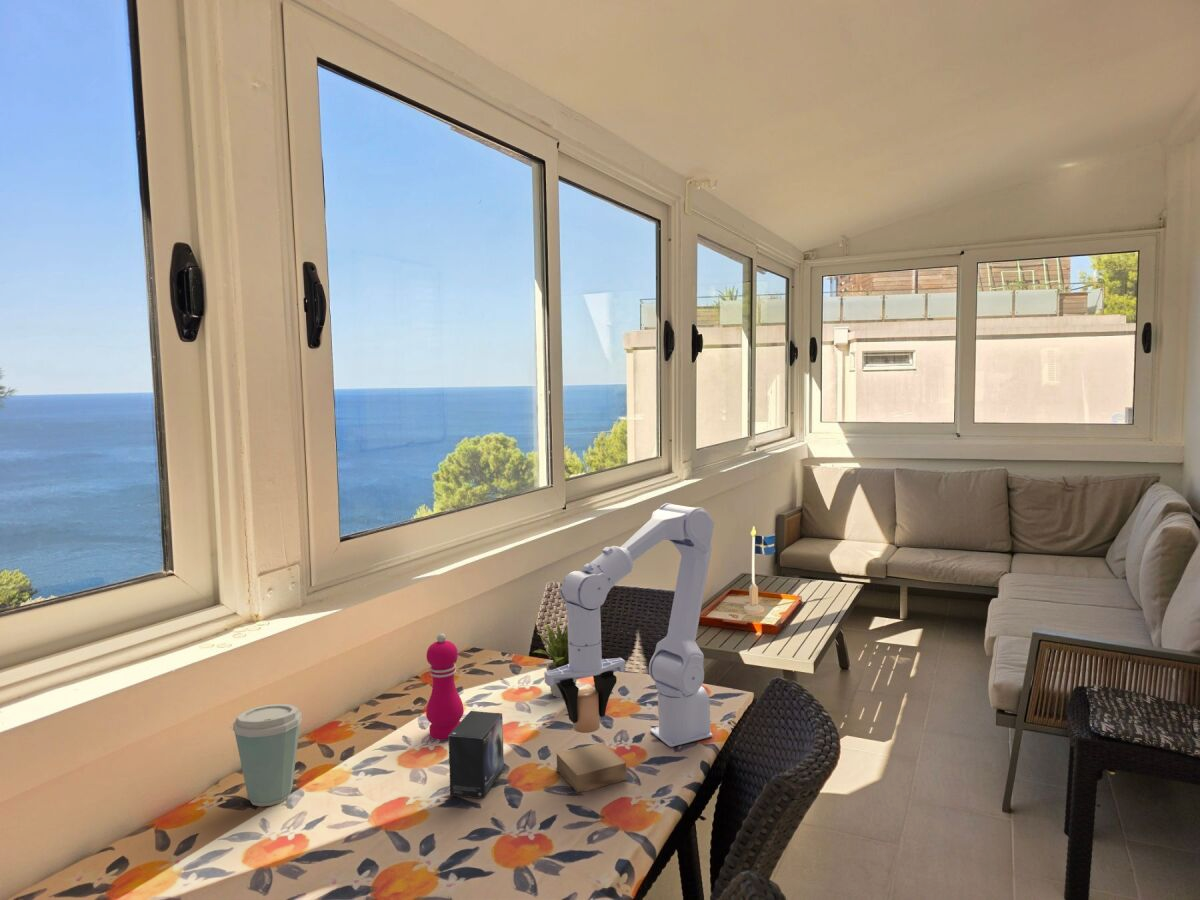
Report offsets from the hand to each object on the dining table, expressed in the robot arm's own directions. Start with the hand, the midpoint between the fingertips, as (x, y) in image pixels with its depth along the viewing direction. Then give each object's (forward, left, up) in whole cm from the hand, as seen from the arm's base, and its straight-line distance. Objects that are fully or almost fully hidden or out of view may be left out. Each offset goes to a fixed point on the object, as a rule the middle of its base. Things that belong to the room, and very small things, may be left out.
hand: (587, 717), depth 137 cm
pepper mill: (+18, -27, -10) cm, 34 cm away
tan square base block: (0, +2, -10) cm, 10 cm away
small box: (+18, -5, -10) cm, 21 cm away
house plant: (-10, -33, -10) cm, 36 cm away
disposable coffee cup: (+50, -17, -10) cm, 54 cm away
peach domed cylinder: (0, 0, -2) cm, 2 cm away
